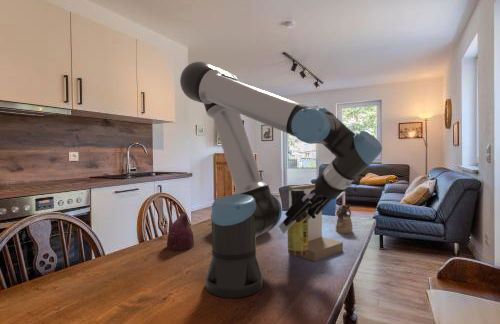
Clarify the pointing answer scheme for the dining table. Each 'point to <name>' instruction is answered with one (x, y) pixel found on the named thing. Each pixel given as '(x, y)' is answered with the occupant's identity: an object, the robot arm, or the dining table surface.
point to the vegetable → (180, 235)
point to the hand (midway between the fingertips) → (289, 227)
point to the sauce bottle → (298, 230)
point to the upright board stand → (316, 233)
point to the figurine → (344, 220)
